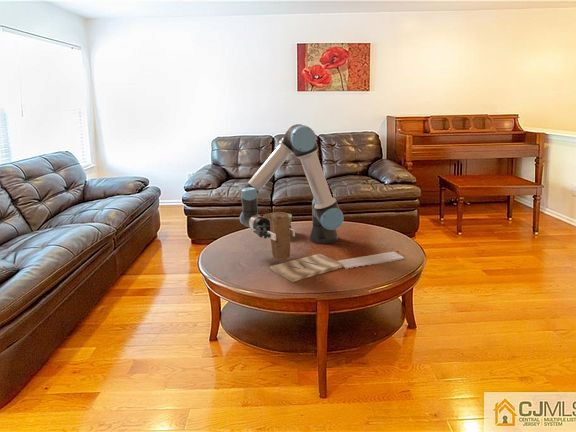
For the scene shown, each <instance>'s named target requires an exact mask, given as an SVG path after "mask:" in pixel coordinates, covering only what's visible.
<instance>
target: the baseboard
mask: <svg viewBox="0 0 576 432" xmlns="http://www.w3.org/2000/svg"><path fill="white" fill-rule="evenodd" d="M402 260H405V255H403V254H402V255H400V251H398V250H395V249H393V248H392V250H391V251H388V252H383V253H378V254H371V255H370V254H369V255H363V256H357V257H352V258H345V259H340V260H336V261H337V262H339V263H342V264H343V267H342V268H344V269H345V270H348V269H349V268H350V269H354V268H353V267H356V268H360V267H359V266H362V267H366V266H365V265H368V266H372V264H373V265H378V264H384V263H390V262H397V261H402Z"/></svg>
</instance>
